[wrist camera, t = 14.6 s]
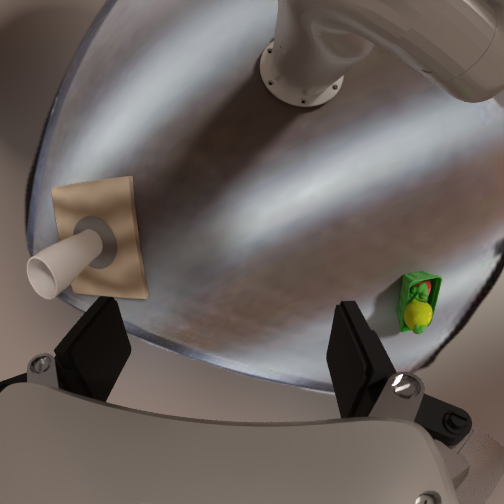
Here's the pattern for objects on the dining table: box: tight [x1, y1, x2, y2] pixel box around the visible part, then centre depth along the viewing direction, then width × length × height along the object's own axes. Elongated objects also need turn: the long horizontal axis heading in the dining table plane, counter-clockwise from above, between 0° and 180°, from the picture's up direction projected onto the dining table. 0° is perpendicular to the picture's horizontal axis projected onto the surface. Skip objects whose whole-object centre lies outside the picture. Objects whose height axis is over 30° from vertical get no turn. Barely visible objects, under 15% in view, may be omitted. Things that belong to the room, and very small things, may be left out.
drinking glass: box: [27, 229, 103, 300], centre depth 35 cm, size 7×7×15 cm
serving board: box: [51, 176, 149, 299], centre depth 43 cm, size 22×18×2 cm
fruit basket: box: [397, 271, 442, 334], centre depth 41 cm, size 11×9×11 cm
